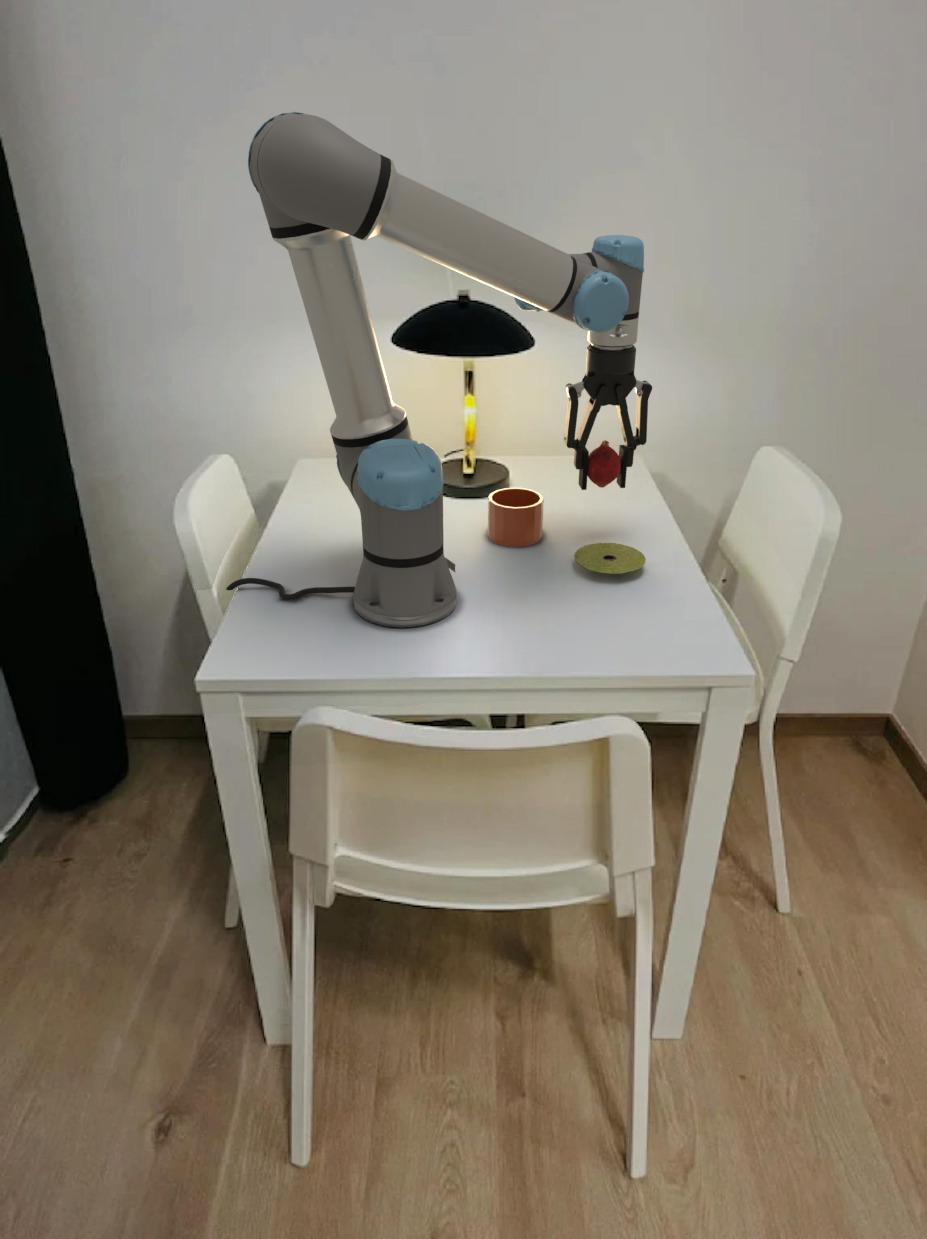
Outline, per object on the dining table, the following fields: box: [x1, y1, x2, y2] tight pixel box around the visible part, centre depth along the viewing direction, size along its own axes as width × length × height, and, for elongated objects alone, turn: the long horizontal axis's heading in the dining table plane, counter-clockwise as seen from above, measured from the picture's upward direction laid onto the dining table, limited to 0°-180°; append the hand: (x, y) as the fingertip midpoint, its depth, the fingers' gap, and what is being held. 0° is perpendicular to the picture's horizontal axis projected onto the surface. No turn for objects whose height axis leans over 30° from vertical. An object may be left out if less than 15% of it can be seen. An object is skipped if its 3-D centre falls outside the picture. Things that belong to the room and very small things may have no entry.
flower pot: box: [487, 487, 545, 548], centre depth 155 cm, size 9×9×7 cm
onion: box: [587, 439, 621, 489], centre depth 150 cm, size 6×6×8 cm
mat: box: [573, 542, 646, 575], centre depth 146 cm, size 11×11×2 cm
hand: (601, 485), depth 152 cm, fingers closed on onion, 6 cm apart
